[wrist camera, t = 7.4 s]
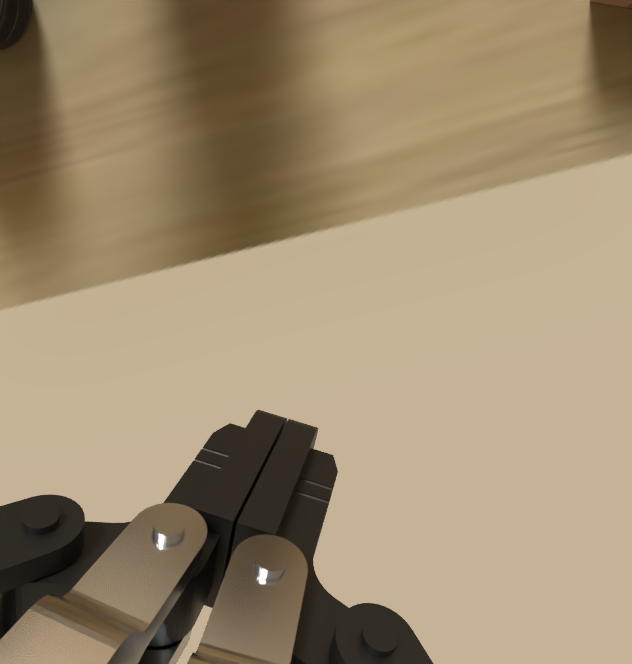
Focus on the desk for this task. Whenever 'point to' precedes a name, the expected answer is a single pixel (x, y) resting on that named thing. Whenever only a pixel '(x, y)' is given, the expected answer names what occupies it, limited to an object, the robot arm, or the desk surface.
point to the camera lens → (13, 21)
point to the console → (616, 3)
